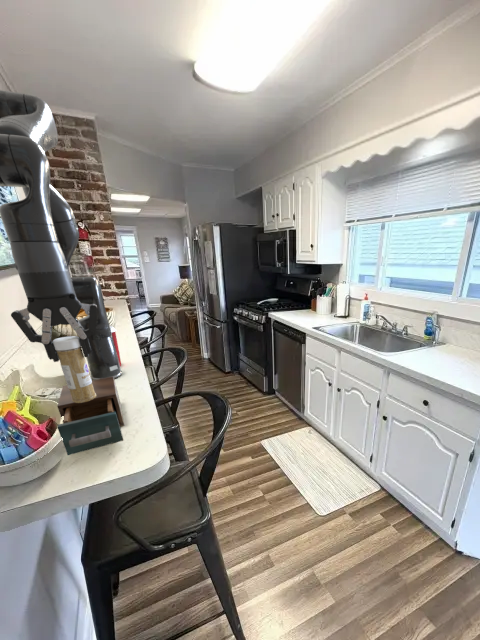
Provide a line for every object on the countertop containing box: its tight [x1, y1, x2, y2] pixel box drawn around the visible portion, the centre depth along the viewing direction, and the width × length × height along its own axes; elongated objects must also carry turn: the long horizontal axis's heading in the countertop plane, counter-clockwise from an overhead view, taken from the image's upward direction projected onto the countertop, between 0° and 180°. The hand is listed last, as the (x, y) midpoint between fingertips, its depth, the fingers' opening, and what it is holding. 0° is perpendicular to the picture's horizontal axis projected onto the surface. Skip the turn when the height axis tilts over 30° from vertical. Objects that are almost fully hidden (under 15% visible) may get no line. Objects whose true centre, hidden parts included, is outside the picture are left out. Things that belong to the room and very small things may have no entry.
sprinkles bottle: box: [52, 335, 96, 403], centre depth 64 cm, size 5×5×13 cm
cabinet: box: [56, 377, 125, 427], centre depth 78 cm, size 14×12×9 cm
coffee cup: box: [110, 325, 122, 367], centre depth 116 cm, size 8×8×15 cm
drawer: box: [57, 398, 124, 456], centre depth 68 cm, size 17×10×7 cm, turn 30°
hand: (71, 358), depth 63 cm, fingers closed on sprinkles bottle, 4 cm apart
